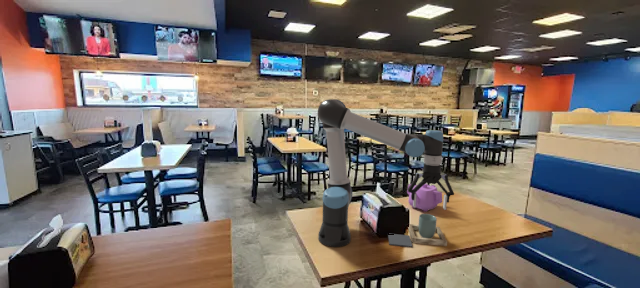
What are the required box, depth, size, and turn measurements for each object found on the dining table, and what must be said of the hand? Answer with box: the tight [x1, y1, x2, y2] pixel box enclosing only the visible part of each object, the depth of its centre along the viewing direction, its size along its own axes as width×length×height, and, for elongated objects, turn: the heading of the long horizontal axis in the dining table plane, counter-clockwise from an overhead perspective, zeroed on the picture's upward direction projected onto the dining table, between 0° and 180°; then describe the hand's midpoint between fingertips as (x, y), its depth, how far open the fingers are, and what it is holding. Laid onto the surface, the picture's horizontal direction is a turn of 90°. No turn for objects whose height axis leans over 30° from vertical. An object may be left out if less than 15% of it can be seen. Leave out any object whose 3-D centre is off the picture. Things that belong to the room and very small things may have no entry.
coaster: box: [387, 233, 413, 248], centre depth 129 cm, size 10×10×1 cm
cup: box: [417, 213, 437, 239], centre depth 133 cm, size 8×8×10 cm
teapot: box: [406, 183, 443, 213], centre depth 170 cm, size 19×18×15 cm
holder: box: [407, 223, 448, 247], centre depth 134 cm, size 15×15×2 cm
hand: (429, 207), depth 131 cm, fingers open, 13 cm apart
